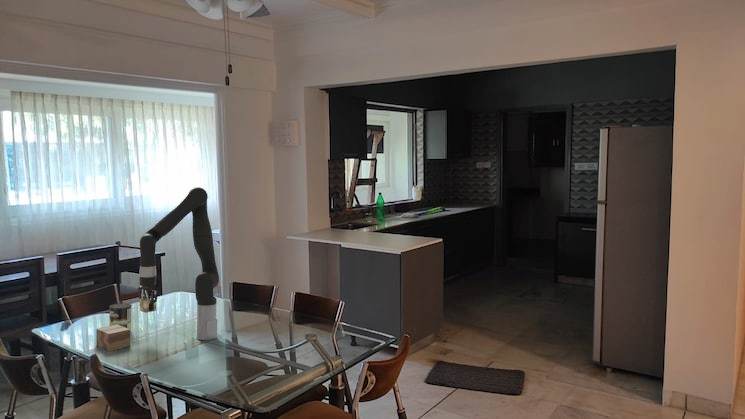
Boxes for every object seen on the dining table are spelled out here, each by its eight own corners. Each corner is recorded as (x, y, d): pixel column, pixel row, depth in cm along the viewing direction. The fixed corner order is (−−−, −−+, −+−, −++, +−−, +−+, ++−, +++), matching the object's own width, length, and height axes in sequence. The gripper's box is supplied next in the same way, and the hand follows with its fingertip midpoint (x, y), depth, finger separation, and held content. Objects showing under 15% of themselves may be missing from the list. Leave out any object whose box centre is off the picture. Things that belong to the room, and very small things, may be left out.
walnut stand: (130, 346, 254) (130, 329, 254) (108, 351, 247) (108, 334, 246) (117, 340, 262) (117, 324, 261) (96, 345, 254) (96, 328, 253)
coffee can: (118, 337, 267) (118, 309, 266) (104, 333, 272) (104, 306, 271) (136, 332, 276) (136, 305, 275) (122, 328, 281) (122, 302, 280)
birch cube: (156, 310, 263) (156, 299, 262) (145, 312, 259) (145, 301, 258) (150, 308, 266) (150, 297, 266) (139, 310, 262) (139, 299, 262)
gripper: (163, 276, 260) (163, 310, 261) (147, 272, 269) (147, 305, 270) (148, 278, 254) (148, 313, 255) (132, 274, 263) (132, 308, 264)
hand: (147, 309), depth 262 cm, fingers closed on birch cube, 5 cm apart
